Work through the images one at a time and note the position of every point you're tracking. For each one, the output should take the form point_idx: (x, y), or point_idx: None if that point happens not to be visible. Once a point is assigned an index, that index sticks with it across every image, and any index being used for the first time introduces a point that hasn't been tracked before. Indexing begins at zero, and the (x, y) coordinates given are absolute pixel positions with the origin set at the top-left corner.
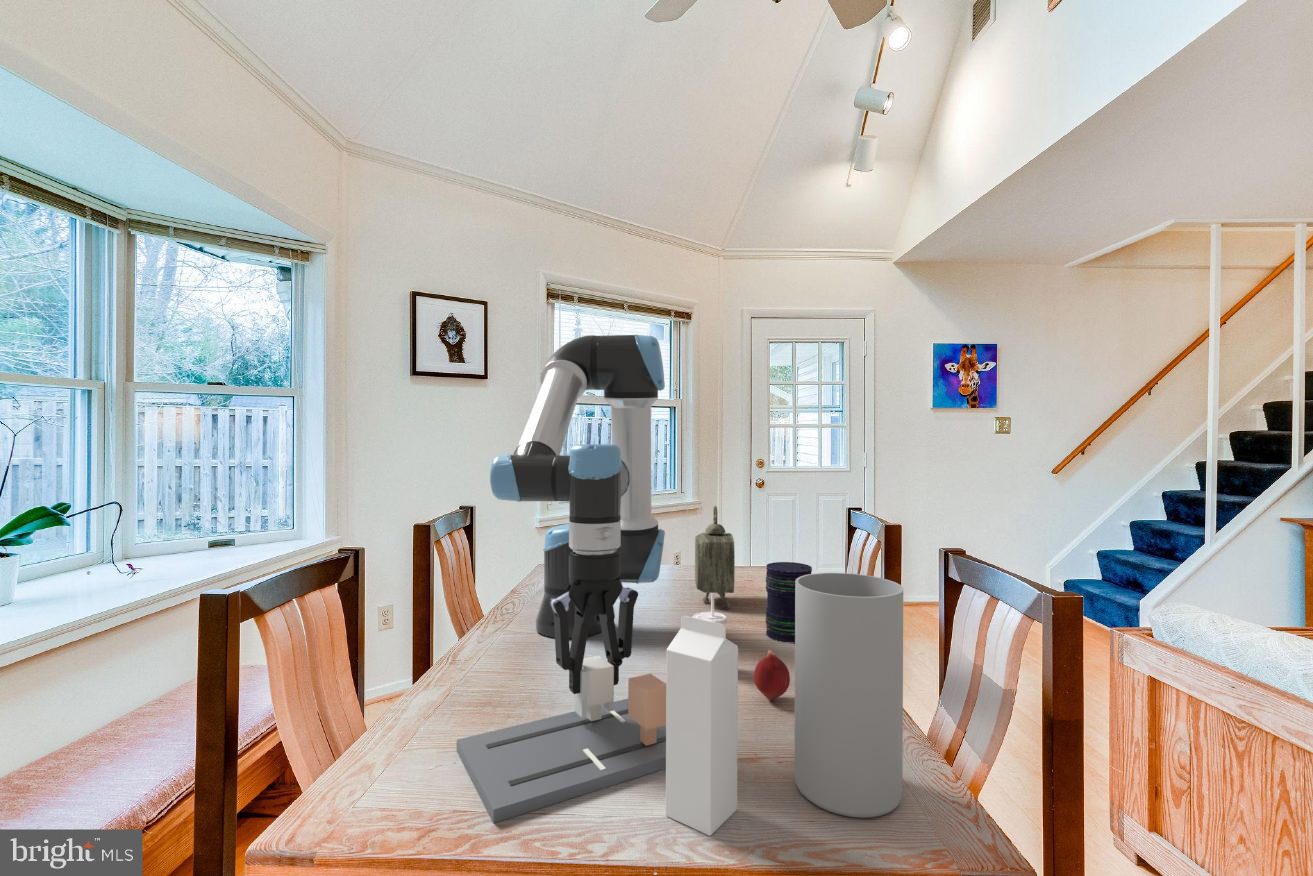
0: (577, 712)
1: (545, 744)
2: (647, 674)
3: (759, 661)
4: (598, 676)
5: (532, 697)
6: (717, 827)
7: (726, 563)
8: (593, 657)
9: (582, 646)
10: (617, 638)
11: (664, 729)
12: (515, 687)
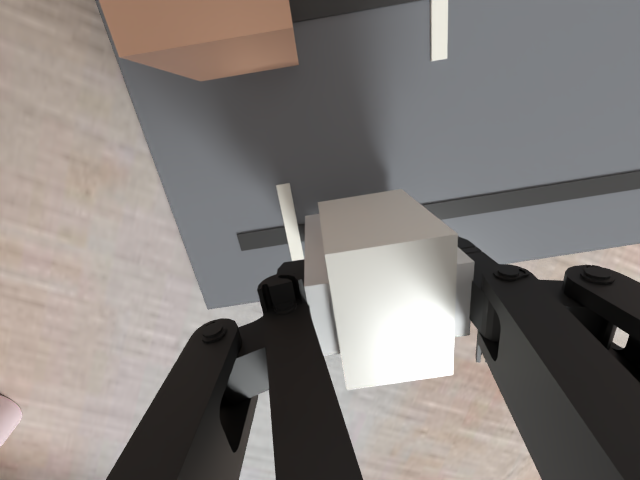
0: None
1: (518, 136)
2: (144, 48)
3: None
4: (398, 228)
5: (421, 388)
6: None
7: None
8: (373, 377)
9: (572, 363)
10: (243, 458)
11: (175, 93)
12: (435, 430)
